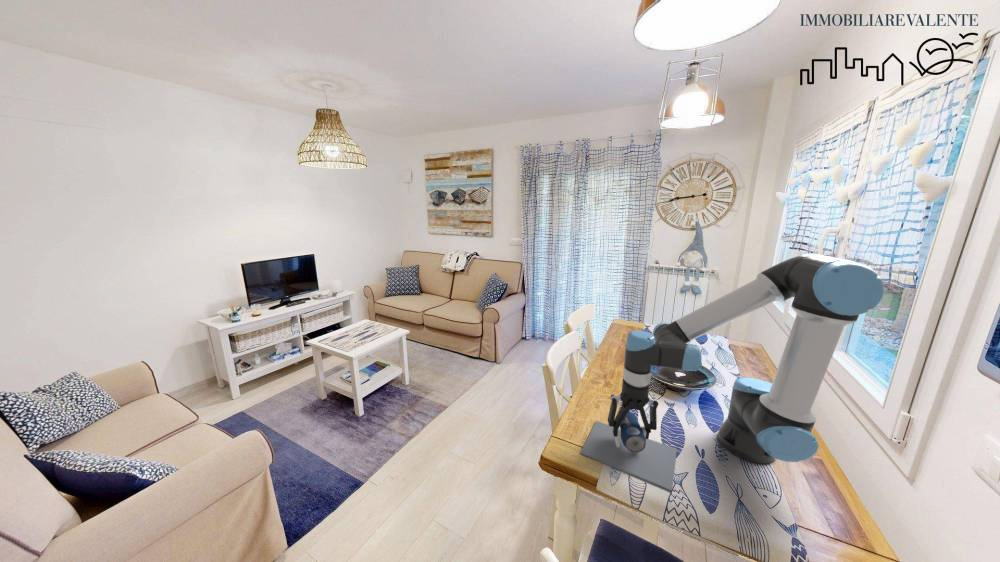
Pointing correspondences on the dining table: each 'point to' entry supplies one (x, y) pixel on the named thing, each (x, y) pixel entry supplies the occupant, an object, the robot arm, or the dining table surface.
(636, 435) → the soda can
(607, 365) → the dining table surface
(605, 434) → the mat
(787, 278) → the robot arm
